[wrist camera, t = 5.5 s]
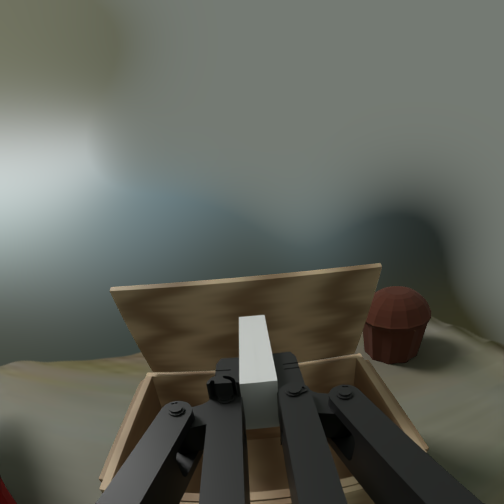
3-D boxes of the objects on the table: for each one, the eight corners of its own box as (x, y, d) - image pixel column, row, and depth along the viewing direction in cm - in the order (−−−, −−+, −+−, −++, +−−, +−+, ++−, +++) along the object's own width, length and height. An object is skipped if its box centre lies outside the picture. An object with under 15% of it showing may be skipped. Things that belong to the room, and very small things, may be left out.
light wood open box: (144, 548, 13) (91, 492, 11) (167, 442, 28) (143, 372, 25) (400, 523, 14) (441, 459, 12) (355, 424, 28) (365, 352, 26)
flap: (153, 371, 25) (109, 291, 19) (153, 368, 26) (111, 287, 19) (354, 353, 26) (382, 266, 19) (353, 349, 26) (379, 263, 20)
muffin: (402, 327, 48) (407, 274, 46) (438, 355, 38) (449, 295, 35) (344, 341, 47) (346, 285, 45) (374, 377, 36) (382, 311, 34)
